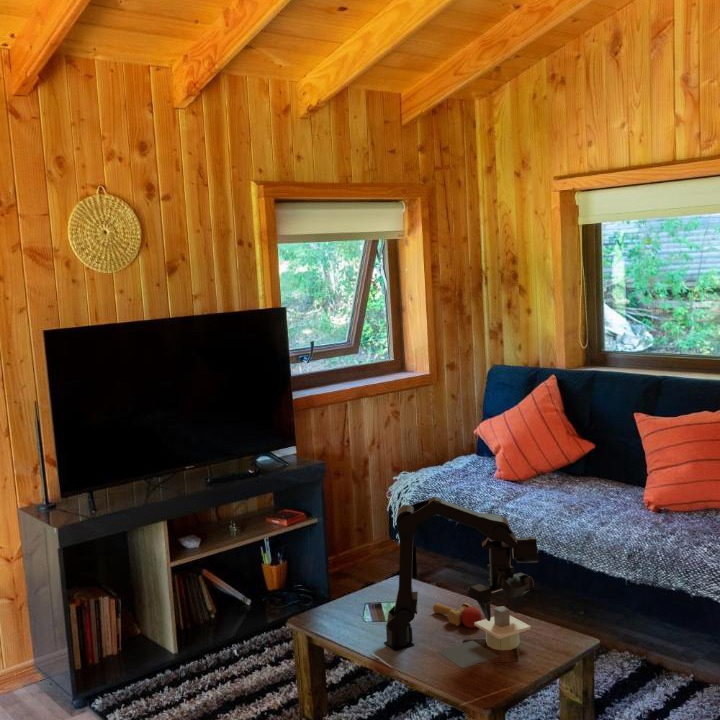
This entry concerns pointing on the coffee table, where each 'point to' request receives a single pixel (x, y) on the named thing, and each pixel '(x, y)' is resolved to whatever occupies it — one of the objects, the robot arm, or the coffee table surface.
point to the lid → (502, 624)
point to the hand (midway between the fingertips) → (501, 616)
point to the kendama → (460, 614)
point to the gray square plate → (467, 654)
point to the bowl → (503, 642)
